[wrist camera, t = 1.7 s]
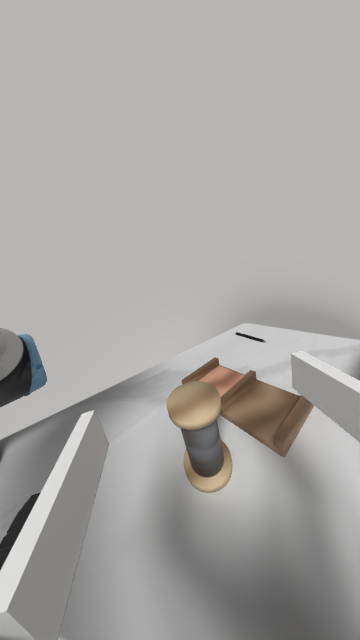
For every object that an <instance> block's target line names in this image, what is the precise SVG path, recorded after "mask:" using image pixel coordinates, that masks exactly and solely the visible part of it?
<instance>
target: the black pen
mask: <svg viewBox="0 0 360 640" xmlns="http://www.w3.org/2000/svg"><path fill="white" fill-rule="evenodd" d="M236 335H239V336H244V337H246V338H249V339H253V340H257V341H261V342H264V343H265V340H263V339H259V338H255V337H252V336H248V335H245V334H240V333H236Z"/></svg>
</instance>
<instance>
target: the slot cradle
mask: <svg viewBox="0 0 360 640" xmlns="http://www.w3.org/2000/svg"><path fill="white" fill-rule="evenodd" d="M193 381H202V382H207V383H209V384H211V385H213V386H214V387H215V388H216V389H217V390H218V392H219V394H220V399H221V406H222V407H221V412H220V415H221V416H223V417H224V418H226V419H227V420H229V421H230V422H232V423H233V424H235V425H236V426H238V427H239V428H241V429H242V430H244V431H245V432H247V433H248V434H250V435H251V436H253V437H254V438H256V439H257V440H259V441H260V442H262V443H263V444H265V445H266V446H268V447H269V448H271V449H272V450H274V451H275V452H277V453H278V454H280V455H281V456H283V457H285V455H286V454H287V452H288V450H289V448H290V447H291V445H292V443H293V441H294V440H295V438H296V436H297V435H298V433H299V431H300V429H301V428H302V426H303V424H304V422H305V421H306V419H307V417H308V415H309V414H310V412H311V410H312V408H313V407H314V405H313V404H312V403H311V402H310V401H308V400H307V399H306V398H305V397H303V396H301V397H300V396H298V395H295V394H293V393H290V392H287V391H285V390H282V389H280V388H277V387H275V386H272V385H269V384H267V383H264V382H262V381H259V380H257V379H256V372H254V371H252V370H250V371H249V372H248V373H247V374H246V375H244V374H241V373H238V372H236V371H233V370H231V369H228V368H226V367H223V366H220V365H219V360H218V358H213V359H212V360H210V361H209V362H208V363H206V364H205V365H203V366H202V367H200V368H199V369H197V370H196V371H195V372H193V373H192V374H190V375H189V376H187V377H186V378H184V379H183V380H182V383H183V384H185V383H188V382H193Z"/></svg>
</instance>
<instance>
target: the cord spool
mask: <svg viewBox="0 0 360 640" xmlns="http://www.w3.org/2000/svg"><path fill="white" fill-rule="evenodd" d="M221 407H222V406H221V399H220V394H219V392H218V390H217V389H216V388H215V387H214V386H213V385H211V384H209V383H207V382H202V381H193V382H188V383H185V384H183V385H181V386H179V387H177V388H176V389H175V390H174V391H173V392H172V393H171V394H170V395H169V397H168V400H167V410H168V413H169V417H170V419H171V421H172V422H173V423H174V424H175V425H176V426H178V427H180V428H181V431H182V434H183V438H184V442H185V445H186V451H185V454H184V468H185V472H186V475H187V478H188V480H189V481H190V483H191V484H192V485H193V486H194V487H195V488H196V489H198V490H200V491H202V492H207V493H211V492H216V491H218V490H220V489H222V488H223V487H224V486H225V485H226V484H227V483H228V481H229V479H230V477H231V474H232V460H231V455H230V452H229V449H228V448H227V446H226V445H225V443H224V442H222V441H221V440H220V435H219V429H218V424H217V418H218V416H219V414H220V412H221Z"/></svg>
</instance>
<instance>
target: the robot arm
mask: <svg viewBox="0 0 360 640" xmlns="http://www.w3.org/2000/svg"><path fill="white" fill-rule="evenodd" d="M291 363H292V385H293V388H294V389H295V390H296V391H297V392H298V393H300V394H301V395H302V396H303V397H305V398H306V399H307V400H308V401H310V402H311V403H312V404H313V405H314V406H316V407H317V408H318V409H319V410H321V411H322V412H323V413H324V414H325V415H327V416H328V417H329V418H330V419H332V420H333V421H334V422H335V423H337V424H338V425H339V426H340V427H341V428H343V429H344V430H345V431H346V432H348V433H349V434H350V435H351V436H353V437H354V438H355V439H356V440H357V441H359V442H360V381H359V380H357V379H355V378H354V377H352V376H350V375H348V374H346V373H344V372H342V371H340V370H338V369H336V368H334V367H332V366H330V365H328V364H326V363H324V362H322V361H321V360H319V359H317V358H315V357H313V356H311V355H309V354H307V353H305V352H303V351H299V352H295V353H292V354H291ZM46 381H47V377H46V373H45V370H44V367H43V365H42V361H41V359H40V355H39V353H38V350H37V348H36V345H35V343H34V340H33V338H32V337H31V336H30V335H28V334H25V335H18V336H17V335H16V334H15V333H13V332H11V331H9V330H6V329H3V328H0V407H2V406H4V405H6V404H8V403H10V402H12V401H15V400H17V399H19V398H21V397H23V396H27V395H29V394H31V393H32V392H33V391H35V390H37V389H39V388H41V387H42V386H44V385H45V383H46ZM108 446H109V442H108V440H107V437H106V435H105V433H104V431H103V428H102V426H101V424H100V422H99V419H98V417H97V415H96V413H95V410H93V411H89V412H86V413H82V414H81V416H80V418H79V420H78V422H77V424H76V426H75V428H74V429H73V431H72V433H71V435H70V437H69V439H68V441H67V443H66V445H65V447H64V449H63V451H62V453H61V455H60V457H59V458H58V460H57V462H56V464H55V466H54V468H53V470H52V472H51V474H50V476H49V478H48V480H47V482H46V484H45V485H44V487H43V489H42V491H41V493H38V494H35V495H32V496H31V497H30V499H29V500H28V501H27V502H26V503H25V505H24V506H23V507H22V508H21V510H20V511H19V512H18V514H17V515H16V517H15V519H14V521H13V523H12V524H11V526H10V528H9V530H8V531H7V535H6V536H5V537H4V538H3V540H2V542H1V544H0V640H58V636H59V632H60V628H61V625H62V621H63V617H64V613H65V609H66V606H67V602H68V598H69V594H70V590H71V587H72V583H73V579H74V575H75V571H76V568H77V564H78V560H79V556H80V552H81V549H82V545H83V541H84V537H85V533H86V530H87V526H88V522H89V518H90V515H91V511H92V507H93V503H94V499H95V496H96V492H97V488H98V484H99V480H100V477H101V473H102V469H103V465H104V461H105V458H106V454H107V450H108Z"/></svg>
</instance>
